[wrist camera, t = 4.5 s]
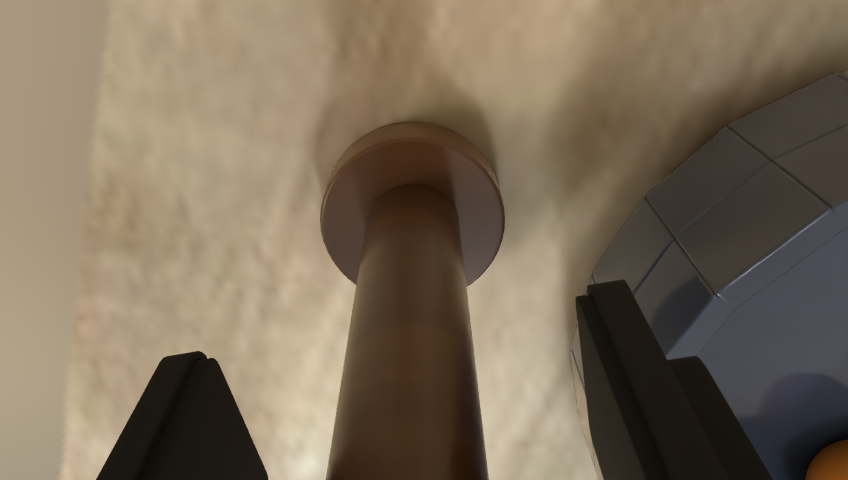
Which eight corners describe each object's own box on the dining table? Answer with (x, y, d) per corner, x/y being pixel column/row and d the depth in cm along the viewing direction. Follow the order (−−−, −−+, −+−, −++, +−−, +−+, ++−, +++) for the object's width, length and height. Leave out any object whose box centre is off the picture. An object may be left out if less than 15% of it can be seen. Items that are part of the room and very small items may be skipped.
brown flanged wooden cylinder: (304, 140, 16) (66, 675, 5) (485, 104, 16) (633, 603, 5) (350, 291, 18) (248, 898, 7) (511, 263, 18) (655, 860, 7)
